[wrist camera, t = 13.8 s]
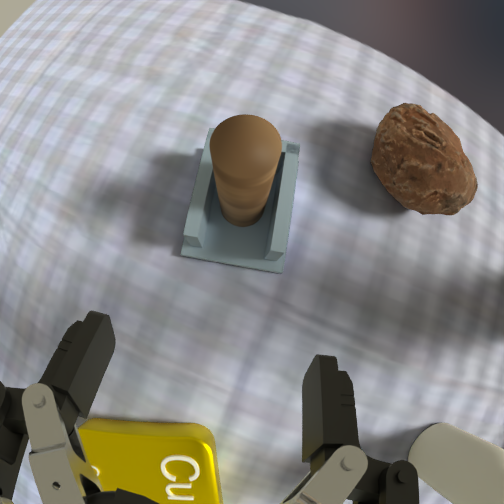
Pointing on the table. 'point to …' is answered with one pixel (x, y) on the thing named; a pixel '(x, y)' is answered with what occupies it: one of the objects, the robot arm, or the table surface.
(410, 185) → the decorative rock
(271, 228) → the slate bracket
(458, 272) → the table surface
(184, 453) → the element tile
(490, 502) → the milk bottle
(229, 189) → the walnut peg
